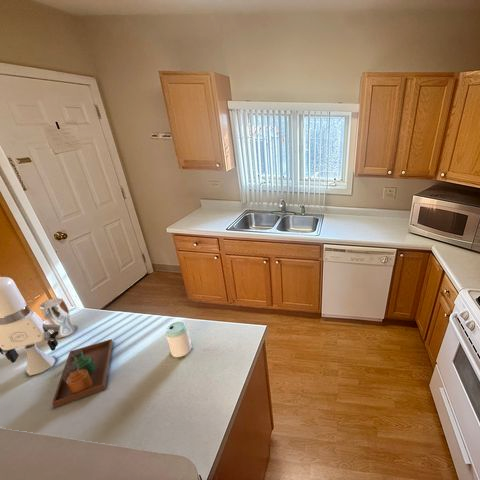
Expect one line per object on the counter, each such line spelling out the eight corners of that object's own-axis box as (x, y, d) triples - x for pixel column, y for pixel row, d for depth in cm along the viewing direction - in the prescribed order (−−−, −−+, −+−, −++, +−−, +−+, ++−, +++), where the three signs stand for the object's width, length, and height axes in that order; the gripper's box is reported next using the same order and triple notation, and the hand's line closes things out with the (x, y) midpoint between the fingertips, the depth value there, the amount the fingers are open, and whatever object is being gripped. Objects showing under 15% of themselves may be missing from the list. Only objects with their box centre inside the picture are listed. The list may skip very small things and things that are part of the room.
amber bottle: (69, 397, 79) (58, 377, 75) (73, 384, 83) (63, 364, 79) (91, 390, 82) (81, 369, 78) (94, 377, 86) (84, 357, 82)
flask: (55, 354, 94) (44, 334, 90) (56, 367, 89) (44, 346, 85) (27, 366, 89) (14, 345, 85) (26, 379, 85) (12, 358, 81)
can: (174, 361, 93) (167, 337, 89) (169, 349, 98) (162, 325, 93) (194, 351, 98) (189, 327, 93) (188, 340, 102) (183, 317, 98)
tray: (105, 389, 83) (103, 384, 82) (54, 407, 77) (51, 403, 76) (113, 342, 100) (111, 339, 99) (72, 355, 94) (70, 351, 93)
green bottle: (74, 381, 84) (64, 361, 80) (78, 369, 88) (68, 349, 84) (94, 374, 87) (85, 354, 83) (97, 363, 91) (88, 344, 87)
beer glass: (66, 339, 101) (51, 309, 95) (48, 338, 101) (32, 308, 95) (81, 326, 107) (68, 297, 101) (65, 325, 107) (51, 296, 101)
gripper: (-37, 332, 73) (-7, 372, 80) (45, 312, 81) (66, 350, 88) (-23, 316, 79) (4, 355, 86) (52, 299, 87) (71, 336, 94)
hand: (35, 353), depth 87 cm, fingers open, 9 cm apart
